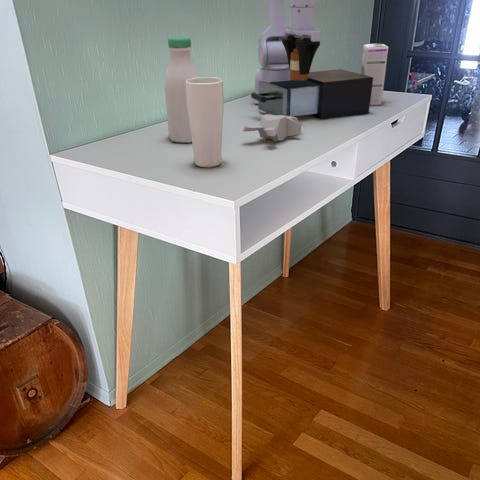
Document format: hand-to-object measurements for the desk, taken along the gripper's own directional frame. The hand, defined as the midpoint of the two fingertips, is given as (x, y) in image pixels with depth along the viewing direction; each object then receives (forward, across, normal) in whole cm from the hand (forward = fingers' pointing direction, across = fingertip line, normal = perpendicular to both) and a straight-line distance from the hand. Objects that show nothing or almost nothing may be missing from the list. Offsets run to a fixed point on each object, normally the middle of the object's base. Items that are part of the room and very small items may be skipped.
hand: (299, 72), depth 122 cm
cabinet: (+10, -3, +12) cm, 16 cm away
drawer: (+9, -3, -2) cm, 10 cm away
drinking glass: (+11, +25, -34) cm, 43 cm away
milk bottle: (+11, +6, -32) cm, 34 cm away
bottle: (+1, 0, 0) cm, 1 cm away
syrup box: (+11, -6, +26) cm, 29 cm away
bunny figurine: (+11, +15, -14) cm, 23 cm away
